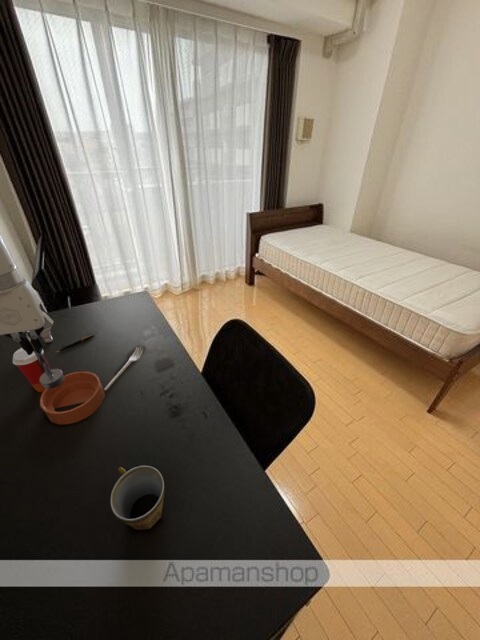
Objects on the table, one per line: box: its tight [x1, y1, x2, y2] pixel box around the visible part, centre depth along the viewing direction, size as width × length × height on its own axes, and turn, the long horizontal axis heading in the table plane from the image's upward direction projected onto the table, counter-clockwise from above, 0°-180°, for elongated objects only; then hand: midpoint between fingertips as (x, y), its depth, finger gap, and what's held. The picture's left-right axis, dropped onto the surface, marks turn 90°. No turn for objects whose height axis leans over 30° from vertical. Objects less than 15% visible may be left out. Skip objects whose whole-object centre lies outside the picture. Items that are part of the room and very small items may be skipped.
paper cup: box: [12, 347, 51, 393], centre depth 86 cm, size 8×8×14 cm
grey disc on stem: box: [24, 331, 65, 389], centre depth 68 cm, size 5×5×16 cm
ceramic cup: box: [109, 465, 165, 531], centre depth 58 cm, size 13×10×10 cm
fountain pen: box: [55, 334, 95, 353], centre depth 106 cm, size 14×1×2 cm, turn 135°
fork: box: [103, 346, 144, 392], centre depth 95 cm, size 3×20×2 cm, turn 163°
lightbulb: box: [40, 326, 54, 344], centre depth 104 cm, size 6×6×11 cm
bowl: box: [39, 371, 106, 425], centre depth 82 cm, size 15×15×6 cm
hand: (36, 350), depth 66 cm, fingers closed on grey disc on stem, 1 cm apart
